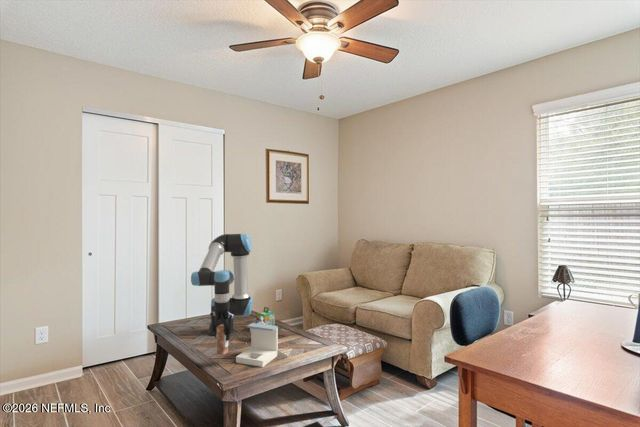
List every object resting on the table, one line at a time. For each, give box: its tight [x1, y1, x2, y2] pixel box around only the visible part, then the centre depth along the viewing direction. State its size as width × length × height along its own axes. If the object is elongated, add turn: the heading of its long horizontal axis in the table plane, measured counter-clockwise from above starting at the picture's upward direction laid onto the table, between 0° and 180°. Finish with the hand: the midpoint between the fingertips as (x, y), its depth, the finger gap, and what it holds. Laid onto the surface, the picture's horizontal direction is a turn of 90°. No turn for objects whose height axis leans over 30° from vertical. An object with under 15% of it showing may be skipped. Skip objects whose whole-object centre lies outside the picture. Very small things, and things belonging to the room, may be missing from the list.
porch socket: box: [235, 322, 279, 368], centre depth 192 cm, size 16×16×16 cm
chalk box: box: [255, 306, 276, 326], centre depth 240 cm, size 9×9×15 cm
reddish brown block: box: [216, 324, 229, 356], centre depth 186 cm, size 4×4×14 cm
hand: (222, 345), depth 186 cm, fingers closed on reddish brown block, 4 cm apart
